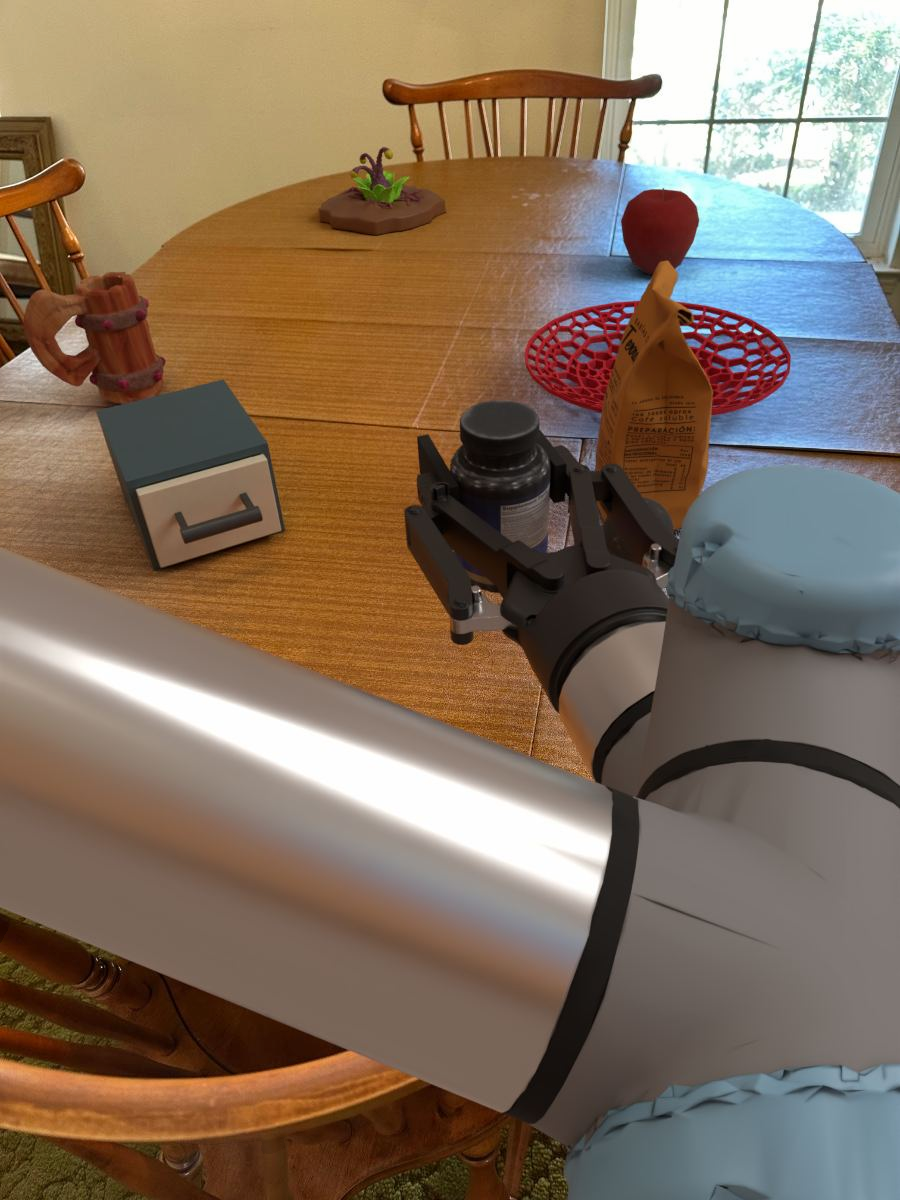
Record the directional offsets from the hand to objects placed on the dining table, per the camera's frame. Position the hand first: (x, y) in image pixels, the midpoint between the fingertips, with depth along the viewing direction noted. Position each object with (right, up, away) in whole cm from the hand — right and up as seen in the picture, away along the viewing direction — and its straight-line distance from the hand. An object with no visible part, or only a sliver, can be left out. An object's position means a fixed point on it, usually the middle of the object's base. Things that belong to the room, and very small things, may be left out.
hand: (474, 444), depth 61 cm
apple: (+29, +38, +76) cm, 90 cm away
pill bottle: (+2, -8, +1) cm, 8 cm away
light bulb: (+14, -10, +19) cm, 26 cm away
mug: (-42, +14, +52) cm, 68 cm away
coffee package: (+17, -1, +30) cm, 35 cm away
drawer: (-25, -3, +29) cm, 39 cm away
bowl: (+22, +14, +48) cm, 54 cm away
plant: (-13, +57, +102) cm, 118 cm away
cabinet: (-27, -1, +33) cm, 42 cm away
